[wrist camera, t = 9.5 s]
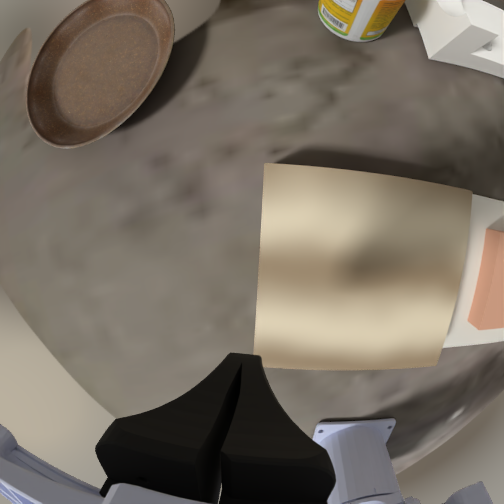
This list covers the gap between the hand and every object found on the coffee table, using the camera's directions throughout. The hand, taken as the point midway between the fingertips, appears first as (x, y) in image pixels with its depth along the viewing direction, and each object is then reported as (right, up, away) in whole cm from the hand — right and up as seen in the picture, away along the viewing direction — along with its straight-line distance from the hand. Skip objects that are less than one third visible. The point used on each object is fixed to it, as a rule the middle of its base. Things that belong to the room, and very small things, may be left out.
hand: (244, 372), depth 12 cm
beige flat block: (+8, +4, +8) cm, 12 cm away
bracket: (+20, +24, +3) cm, 31 cm away
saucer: (-12, +21, +7) cm, 25 cm away
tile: (+22, +3, +6) cm, 23 cm away
